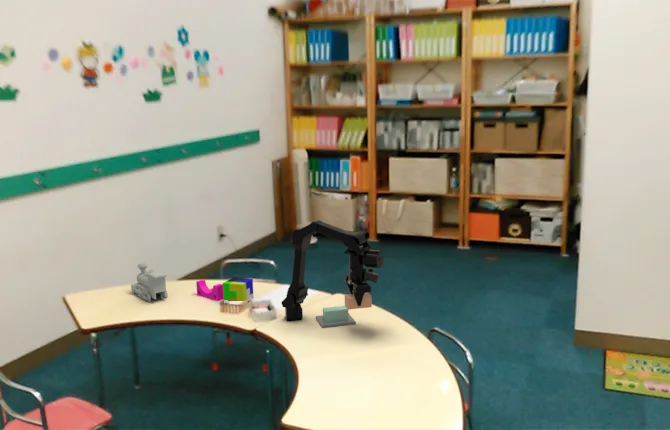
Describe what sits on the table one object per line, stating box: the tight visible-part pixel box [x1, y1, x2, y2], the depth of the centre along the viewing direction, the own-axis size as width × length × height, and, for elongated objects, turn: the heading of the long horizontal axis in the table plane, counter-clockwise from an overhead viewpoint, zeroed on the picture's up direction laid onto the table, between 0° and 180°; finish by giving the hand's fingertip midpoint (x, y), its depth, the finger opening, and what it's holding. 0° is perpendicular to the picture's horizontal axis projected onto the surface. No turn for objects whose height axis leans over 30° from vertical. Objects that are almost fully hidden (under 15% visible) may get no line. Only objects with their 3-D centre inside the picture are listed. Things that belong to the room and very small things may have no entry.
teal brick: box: [322, 305, 349, 322], centre depth 258 cm, size 10×5×4 cm, turn 104°
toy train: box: [130, 262, 168, 303], centre depth 297 cm, size 11×28×15 cm, turn 39°
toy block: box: [195, 279, 224, 302], centre depth 295 cm, size 15×6×8 cm, turn 51°
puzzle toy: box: [222, 276, 255, 301], centre depth 286 cm, size 10×10×10 cm
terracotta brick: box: [344, 292, 373, 311], centre depth 245 cm, size 10×5×4 cm, turn 104°
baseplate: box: [315, 312, 357, 329], centre depth 258 cm, size 14×12×1 cm
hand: (357, 303), depth 246 cm, fingers closed on terracotta brick, 5 cm apart
